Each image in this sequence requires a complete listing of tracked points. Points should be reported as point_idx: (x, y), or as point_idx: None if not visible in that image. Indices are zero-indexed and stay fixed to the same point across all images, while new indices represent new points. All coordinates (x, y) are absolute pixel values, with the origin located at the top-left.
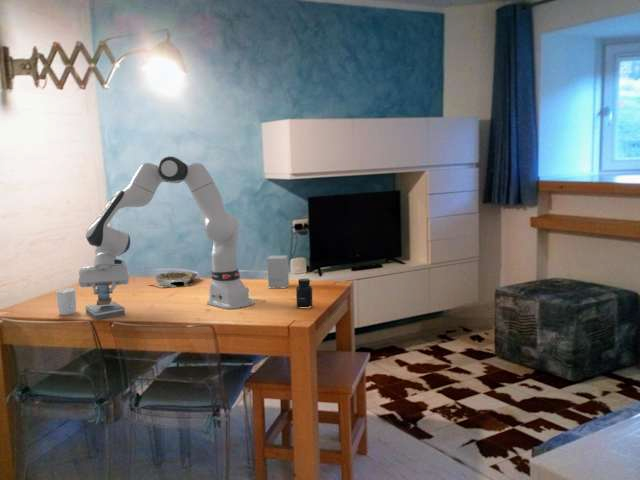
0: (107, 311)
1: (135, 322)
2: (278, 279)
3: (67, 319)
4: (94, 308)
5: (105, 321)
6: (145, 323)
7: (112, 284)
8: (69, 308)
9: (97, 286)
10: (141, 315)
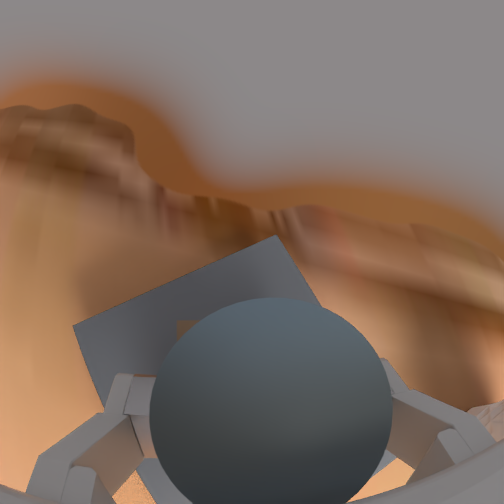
0: (193, 273)
1: (57, 164)
2: None
3: (435, 312)
4: None
5: (199, 212)
6: (30, 146)
7: (90, 472)
8: (481, 415)
9: (367, 349)
10: (12, 280)
